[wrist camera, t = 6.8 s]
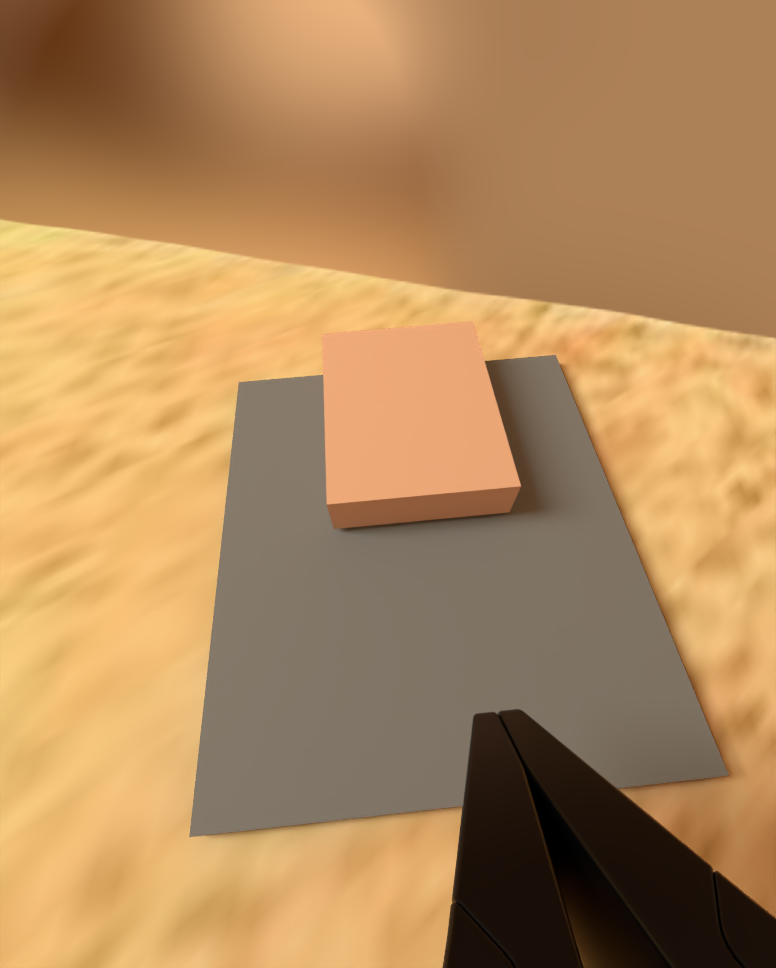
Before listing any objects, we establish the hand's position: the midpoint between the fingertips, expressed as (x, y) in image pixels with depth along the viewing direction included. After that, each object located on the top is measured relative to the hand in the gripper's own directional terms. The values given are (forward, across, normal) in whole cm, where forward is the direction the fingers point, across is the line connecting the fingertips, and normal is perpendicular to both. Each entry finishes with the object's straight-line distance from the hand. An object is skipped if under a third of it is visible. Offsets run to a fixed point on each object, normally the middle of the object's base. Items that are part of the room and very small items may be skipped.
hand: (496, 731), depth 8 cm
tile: (+10, 0, -1) cm, 10 cm away
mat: (+11, 0, 0) cm, 11 cm away
